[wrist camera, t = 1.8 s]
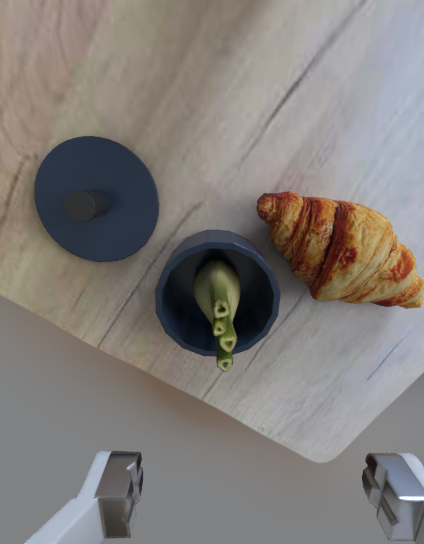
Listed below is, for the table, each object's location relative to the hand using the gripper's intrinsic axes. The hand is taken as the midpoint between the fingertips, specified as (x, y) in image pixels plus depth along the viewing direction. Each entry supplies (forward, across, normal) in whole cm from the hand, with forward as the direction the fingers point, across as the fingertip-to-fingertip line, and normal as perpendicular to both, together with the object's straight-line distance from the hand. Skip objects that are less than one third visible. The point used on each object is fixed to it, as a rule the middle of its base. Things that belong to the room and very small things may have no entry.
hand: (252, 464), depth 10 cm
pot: (+22, +1, +1) cm, 22 cm away
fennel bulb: (+22, +1, +1) cm, 22 cm away
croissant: (+23, -12, -2) cm, 26 cm away
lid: (+21, +13, -8) cm, 26 cm away
